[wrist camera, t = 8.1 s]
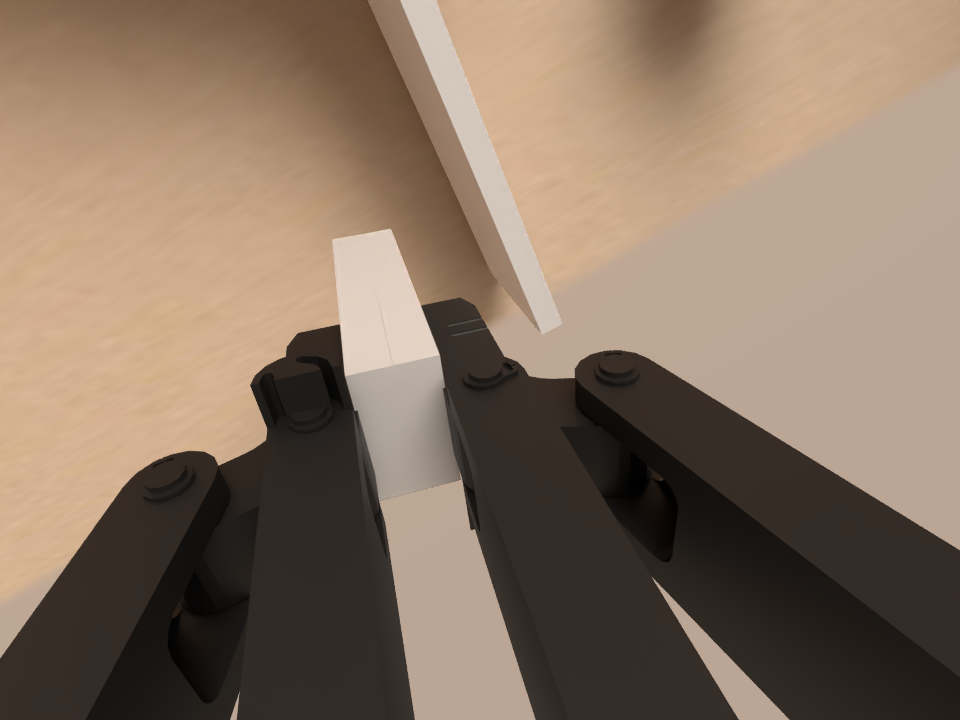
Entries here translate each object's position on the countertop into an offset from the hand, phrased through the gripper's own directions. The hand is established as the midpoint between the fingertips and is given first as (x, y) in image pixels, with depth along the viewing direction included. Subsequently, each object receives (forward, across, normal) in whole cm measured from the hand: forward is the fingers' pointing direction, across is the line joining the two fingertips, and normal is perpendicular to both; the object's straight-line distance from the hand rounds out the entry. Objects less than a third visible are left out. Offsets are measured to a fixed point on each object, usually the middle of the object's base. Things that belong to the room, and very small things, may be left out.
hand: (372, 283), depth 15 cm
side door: (+8, +3, +3) cm, 9 cm away
